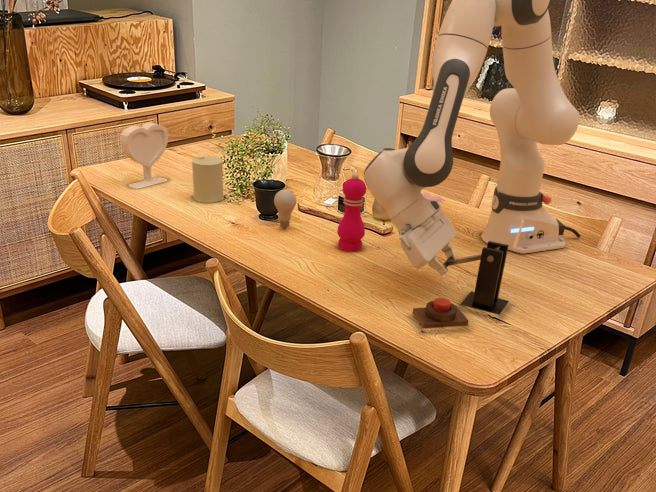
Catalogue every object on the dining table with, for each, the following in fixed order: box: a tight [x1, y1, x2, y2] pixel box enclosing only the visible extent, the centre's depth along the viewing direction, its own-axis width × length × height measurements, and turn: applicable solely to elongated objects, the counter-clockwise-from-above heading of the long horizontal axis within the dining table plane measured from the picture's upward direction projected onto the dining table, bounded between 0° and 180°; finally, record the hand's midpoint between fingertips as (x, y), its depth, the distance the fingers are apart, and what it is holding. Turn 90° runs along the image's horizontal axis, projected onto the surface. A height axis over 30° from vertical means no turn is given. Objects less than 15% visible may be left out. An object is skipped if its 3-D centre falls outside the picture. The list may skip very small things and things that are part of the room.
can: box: [191, 155, 225, 204], centre depth 212 cm, size 9×9×12 cm
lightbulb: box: [273, 188, 297, 230], centre depth 193 cm, size 6×6×11 cm
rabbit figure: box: [419, 192, 446, 203], centre depth 215 cm, size 6×6×15 cm
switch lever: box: [442, 246, 502, 269], centre depth 155 cm, size 13×6×2 cm, turn 61°
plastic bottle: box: [371, 147, 396, 221], centre depth 200 cm, size 6×7×20 cm
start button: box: [433, 297, 452, 312], centre depth 149 cm, size 4×4×2 cm
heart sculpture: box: [119, 122, 169, 189], centre depth 220 cm, size 16×5×18 cm, turn 138°
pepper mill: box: [336, 172, 367, 253], centre depth 181 cm, size 7×7×20 cm
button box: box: [412, 300, 469, 334], centre depth 151 cm, size 10×7×4 cm
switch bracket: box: [460, 241, 509, 316], centre depth 155 cm, size 9×8×15 cm
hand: (450, 268), depth 159 cm, fingers closed on switch lever, 5 cm apart
